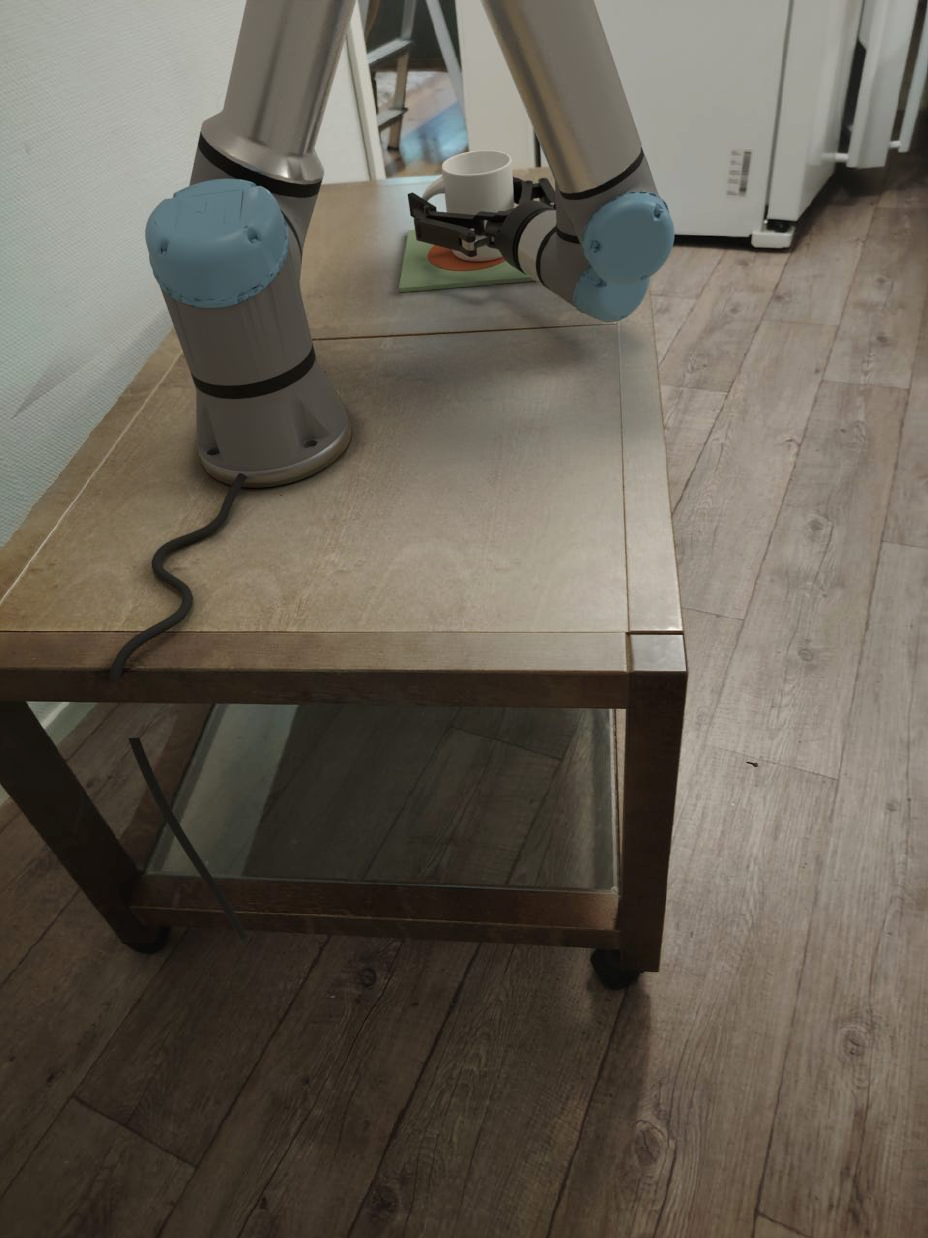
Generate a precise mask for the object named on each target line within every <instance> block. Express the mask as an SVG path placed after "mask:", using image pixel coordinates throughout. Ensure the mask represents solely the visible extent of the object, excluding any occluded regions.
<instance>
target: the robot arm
mask: <svg viewBox="0 0 928 1238" xmlns="http://www.w3.org/2000/svg"><path fill="white" fill-rule="evenodd" d="M479 1H480V3H481V5H482V8H483V10H484V13H485V15H486V18H487V20H488V22H489V25H490V27H491V30H492V32H493V35H494V37H495V39H496V42H497V44H498V47H499V49H500V52H501V54H502V57H503V58H504V61H505V63H506V66H507V69H508V70H509V73H510V75H511V78H512V80H513V83H514V85H515V87H516V89H517V92H518V95H519V97H520V99H521V103H522V105H523V106H524V109H525V112H526V115H527V116H528V119H529V122H530V123H531V126H532V129H533V131H534V134H535V135H536V138H537V140H538V143H539V145H540V148H541V150H542V153H543V155H544V158H545V160H546V162H547V165H548V167H549V170H550V172H551V174H552V177H553V180H554V187H553V185H552V183H551V182H550V180H549V178H548V177H540V178H538V179H537V180H538V182H536V183H534V181H533V180H530V179H527V180H524V179H521V178H520V177H515V176H513V192H514V205H515V204H516V206H514V208H511V209H508V210H506V211H498V212H497V213H495V212H484V211H480V212H478V213H477V214H476V215H470V214H459V213H449V212H447V211H446V212H445V211H438V210H437V206H435V205H434V204H433V203H431V202H430V201H426V200H424V199H423V198H422V196H419V195H418V194H416V193H414V191H413V192H409V193H407V200H408V209H409V216H410V217H411V218H412V219H413V226H414V230H415V234H416V240H417V241H421V242H425V243H429V244H433V245H436V246H440V247H444V248H448V249H452V250H456V251H460V252H462V253H463V254H465V255H466V256H468V257H474V256H476V255H477V248H479V247H482V246H485V245H487V246H488V247H490V248H494V249H498V250H499V251H500V253H501V254H502V256H503V257H504V259H505V260H506V261H507V263H509V264H510V265H511V266H513V267H514V268H516V269H517V270H519V271H520V272H522V273H523V274H525V275H528V276H529V277H530V278H532V279H533V280H535V281H534V282H537V283H538V284H540V285H541V286H543V287H544V288H546V289H547V290H549V291H551V292H552V293H553V294H555V295H557V296H558V297H559V298H561V299H563V300H564V301H565V302H567V303H568V304H569V305H571V306H572V307H574V308H575V309H576V310H577V311H578V312H580V313H581V314H585V315H587V316H589V317H591V318H593V319H595V320H596V321H597V320H598V321H600V322H604V323H616V322H620V321H622V320H624V319H627V318H628V317H629V316H631V315H632V314H633V313H634V312H635V311H636V310H637V309H638V308H639V307H640V305H641V304H642V303H643V300H645V297H646V294H647V293H648V289H649V286H650V278H651V277H653V275H655V274H656V273H657V272H659V271H660V270H661V269H662V267H663V266H664V265H665V263H666V262H667V260H668V259H669V257H670V254H671V252H672V250H673V246H674V242H675V225H674V222H673V219H672V217H671V214H670V210H669V207H668V204H667V202H666V201H665V200H664V199H663V198H662V197H661V196H660V194H659V191H658V189H657V186H656V183H655V180H654V177H653V174H652V171H651V169H650V165H649V162H648V158H647V157H646V154H645V152H644V150H643V146H642V143H643V142H642V140H641V138H640V135H639V132H638V128H637V126H636V122H635V119H634V117H633V114H632V111H631V108H630V105H629V102H628V99H627V96H626V93H625V90H624V87H623V83H622V81H621V78H620V75H619V72H618V69H617V66H616V62H615V60H614V57H613V54H612V50H611V48H610V45H609V41H608V39H607V36H606V34H605V33H606V32H605V30H604V26H603V24H602V21H601V18H600V15H599V11H598V9H597V5H596V3H595V0H479ZM356 3H357V0H245V5H244V10H243V14H242V19H241V25H240V29H239V33H238V37H237V41H236V47H235V52H234V55H233V61H232V65H231V70H230V75H229V79H228V84H227V89H226V95H225V99H224V103H223V108H222V110H221V111H220V112H218V113H215V114H214V115H212V116H210V117H209V118H206V119H205V120H203V121H202V123H201V127H200V131H199V135H198V141H197V146H196V150H195V155H194V160H193V166H192V171H191V175H190V180H189V183H188V184H189V185H188V186H186V187H184V188H182V189H179V190H177V191H175V192H174V193H173V195H172V197H171V198H164V199H162V200H161V201H160V202H159V203H158V204H157V205H156V206H155V208H154V209H153V210H152V212H151V213H150V215H149V216H148V218H147V221H146V224H145V230H144V238H145V243H146V248H147V252H148V260H149V264H150V268H151V269H152V275H153V277H154V279H155V280H156V283H157V284H158V286H159V288H160V291H161V294H162V296H163V299H164V303H165V305H166V308H167V311H168V313H169V317H170V319H171V321H172V325H173V327H174V330H175V334H176V336H177V338H178V341H179V344H180V348H181V350H182V353H183V356H184V358H185V361H186V364H187V367H188V370H189V372H190V375H191V378H192V381H193V384H194V386H195V387H194V388H195V392H196V393H195V397H196V398H195V401H196V403H195V404H196V405H195V407H196V408H195V411H196V412H195V415H196V416H195V417H196V419H195V426H196V428H195V447H196V450H197V453H198V455H199V458H200V461H201V463H202V466H203V469H204V470H205V471H206V472H207V474H209V475H210V476H211V477H212V478H213V479H215V480H217V481H219V482H221V483H224V484H227V485H230V488H229V490H228V492H227V493H226V496H225V498H224V500H223V502H222V505H221V508H220V510H219V512H218V514H217V516H216V517H215V518H214V519H213V520H211V522H209V523H208V524H206V525H205V526H202V527H201V528H199V529H197V530H194V531H192V532H189V533H185V534H184V535H180V536H178V537H175V538H173V539H171V540H169V541H167V542H165V543H164V544H162V545H161V546H160V547H159V548H158V549H157V550H156V551H155V552H154V555H153V556H152V559H151V568H152V571H153V573H154V574H155V575H156V577H157V578H159V580H161V581H163V582H164V583H166V584H168V585H169V586H171V587H172V588H173V589H175V590H176V591H178V593H179V594H180V595H181V597H182V601H181V604H180V606H179V607H178V609H177V610H176V611H174V613H172V614H171V615H169V616H168V617H167V618H165V619H163V620H161V621H158V622H157V623H155V624H153V625H152V626H150V627H148V628H146V629H144V630H142V631H141V632H139V633H137V634H136V635H135V636H133V637H132V638H130V640H128V641H127V642H126V643H125V644H124V645H123V646H122V648H121V649H120V650H119V651H118V653H117V655H116V657H115V658H114V660H113V661H112V662H113V663H112V665H111V668H110V671H109V678H108V681H109V683H111V684H115V683H117V682H118V681H119V680H120V679H121V677H122V675H123V671H124V668H125V665H126V663H127V661H128V659H130V657H131V655H132V654H134V652H136V651H137V649H139V648H140V647H142V646H143V645H144V644H145V643H147V642H148V641H150V640H152V639H154V638H155V637H158V636H160V635H161V634H164V633H165V632H167V631H168V630H170V629H173V627H176V626H177V625H178V624H180V623H181V622H182V621H183V620H184V619H185V618H186V617H187V615H188V614H189V613H190V611H191V609H192V607H193V605H194V604H193V603H194V596H193V592H192V590H191V588H190V587H189V585H187V584H186V583H185V582H184V581H182V580H181V579H179V578H178V577H176V576H175V575H173V574H172V573H170V572H168V571H167V570H166V569H165V568H164V567H163V560H164V559H165V557H166V556H167V555H168V554H170V553H171V552H173V551H175V550H177V549H179V548H182V547H184V546H187V545H189V544H192V543H195V542H198V541H199V540H202V539H204V538H207V537H208V536H209V535H212V534H213V533H215V532H216V531H218V530H219V529H220V528H221V527H222V526H223V524H225V522H226V521H227V519H228V517H229V514H230V512H231V510H232V507H233V504H234V502H235V500H236V498H237V497H238V495H239V493H240V491H241V488H249V489H250V488H253V489H254V488H255V489H258V488H269V487H270V488H271V487H278V486H282V485H286V484H291V483H294V482H297V481H300V480H303V479H305V478H308V477H310V476H313V475H315V474H317V473H318V472H320V471H322V470H324V469H326V468H327V467H329V466H330V465H331V464H332V463H334V462H335V461H336V460H337V459H338V458H339V457H340V456H341V455H342V454H343V453H344V451H346V449H347V447H348V445H349V443H350V442H351V438H352V432H353V429H352V424H351V420H350V415H349V411H348V407H347V405H346V404H345V402H344V401H343V399H342V398H341V397H340V395H339V393H338V392H337V390H336V388H335V387H334V385H333V383H332V382H331V380H330V379H329V377H328V376H327V374H326V371H325V370H323V368H322V366H321V365H320V363H319V362H318V359H317V355H316V350H315V347H314V343H313V338H312V333H311V330H310V326H309V321H308V317H307V313H306V308H305V304H304V300H303V296H302V295H303V294H302V289H301V275H302V266H303V265H302V264H303V254H304V247H305V243H306V238H307V234H308V231H309V227H310V224H311V220H312V217H313V213H314V210H315V207H316V203H317V200H318V196H319V193H320V190H321V186H322V184H323V179H324V176H325V169H324V166H323V164H322V162H321V160H320V158H319V156H318V154H317V152H316V149H315V148H316V144H317V140H318V136H319V134H320V129H321V126H322V123H323V120H324V116H325V112H326V108H327V105H328V102H329V99H330V98H329V97H330V95H331V91H332V87H333V84H334V80H335V77H336V73H337V69H338V67H339V62H340V59H341V56H342V52H343V49H344V44H345V41H346V38H347V35H348V31H349V28H350V24H351V20H352V16H353V14H354V10H355V6H356ZM537 199H538V200H537ZM484 220H487V223H486V227H484ZM127 739H128V741H129V742H128V743H129V745H130V748H131V750H132V753H133V755H134V758H135V760H136V763H137V765H138V768H139V769H140V772H141V774H142V776H143V779H144V781H145V783H146V785H147V787H148V790H149V791H150V793H151V796H152V797H153V799H154V801H155V803H156V805H157V807H158V809H159V810H160V812H161V814H162V816H163V818H164V820H165V821H166V824H167V825H168V827H169V828H170V830H171V832H172V833H173V835H174V837H175V838H176V840H177V842H178V843H179V845H180V847H181V848H182V849H183V852H185V854H186V856H187V858H188V859H189V860H190V862H191V864H192V865H193V867H194V868H195V870H196V872H197V873H198V874H199V875H200V877H201V879H202V880H203V882H204V883H205V885H206V886H207V888H208V889H209V891H210V892H211V894H212V895H213V897H214V899H215V900H216V902H217V903H218V905H219V906H220V908H221V909H222V911H223V913H224V914H225V917H226V918H227V920H228V921H229V923H230V925H231V926H232V928H233V930H234V932H235V933H236V935H237V936H238V938H239V940H241V941H243V940H245V939H246V938H247V936H248V934H247V931H246V930H245V929H244V927H243V925H242V923H241V921H240V919H239V918H238V916H237V915H236V913H235V911H234V910H233V908H232V906H231V904H230V903H229V901H228V899H227V897H226V896H225V895H224V893H223V891H222V890H221V889H220V887H219V885H218V884H217V882H216V880H215V879H214V877H213V876H212V874H211V873H210V871H209V869H208V868H207V867H206V865H205V863H204V861H203V860H202V858H201V857H200V856H199V854H198V852H197V851H196V849H195V848H194V846H193V845H192V843H191V841H190V839H189V838H188V835H186V833H185V831H184V829H183V828H182V826H181V824H180V823H179V821H178V819H177V817H176V815H175V814H174V811H173V810H172V808H171V806H170V803H169V802H168V800H167V799H166V796H165V794H164V792H163V790H162V788H161V786H160V784H159V782H158V779H157V777H156V775H155V773H154V770H153V769H152V765H151V763H150V761H149V758H148V756H147V754H146V752H145V749H144V746H143V743H142V741H141V738H140V737H127Z"/></svg>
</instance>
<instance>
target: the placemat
mask: <svg viewBox="0 0 928 1238" xmlns="http://www.w3.org/2000/svg"><path fill="white" fill-rule="evenodd" d="M405 243H406V244H405V249H404V256H403V260H402V267H401V272H400V278H399V284H398V292H399V293H409V292H420V291H421V292H422V291H432V290H445V289H455V288H456V289H457V288H465V287H466V288H468V287H478V286H479V287H481V286H490V285H501V284H502V285H503V284H514V283H523V282H536V281H535V280H533V279H532V278H530V277H529V276H528V275H525V274H523V273H522V272H520V271H519V270H517V269H516V268H514V267H513V266H511V265H510V264H509V263H507V261H506V260H505V259H504V257H501V258H498V259H495V260H490V261H483V262H473V261H466V260H462V259H460V258H458V257H457V256H456V255H455V254H454V253H453V252H452V249H448V248H444V247H440V246H436V245H433V244H429V243H425V242H421V241H417V240H416V234H415V229H412V230H408V231H407V237H406V242H405Z"/></svg>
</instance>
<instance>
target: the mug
mask: <svg viewBox="0 0 928 1238" xmlns="http://www.w3.org/2000/svg"><path fill="white" fill-rule="evenodd" d="M441 174H442V175H441V176H440V177H438V178H437V179H435V180H434V181H433V182H432V183H431V184H429V185H428V186H427V188H426V189H425V191H424V192H423V194H422V196H421V198H423V199H424V200H426V201H427V202H429V201H430V200H431V198H433V197H435V196H438V195H441V194H444V201H445V210H446V212H449V213H459V214H470V215H476V214H477V213H478V212H480V211H484V212H495V213H497V212H498V211H506V210H508V209H511V208H515V203H514V192H513V177H514V174H513V161H512V157H511V155H510V154H508V153H507V152H504V151H499V150H494V149H493V150H491V149H481V150H472V151H466V152H461V153H458V154H455V155H453V156H451V157H449V158H447V159H446V160H444V161H443V162H442V165H441ZM486 223H487V220H484V227H486ZM452 252H453V253H454V254H455V255H456V256H457V257H458V258H460V259H462V260H466V261H473V262H483V261H490V260H495V259H498V258H501V257H503V256H502V254H501V253H500V251H499V250H498V249H494V248H490V247H488V246H487V245H485V246H482V247H479V248H477V255H476V256H474V257H468V256H466V255H465V254H463V253H462V252H460V251H456V250H452Z"/></svg>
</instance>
